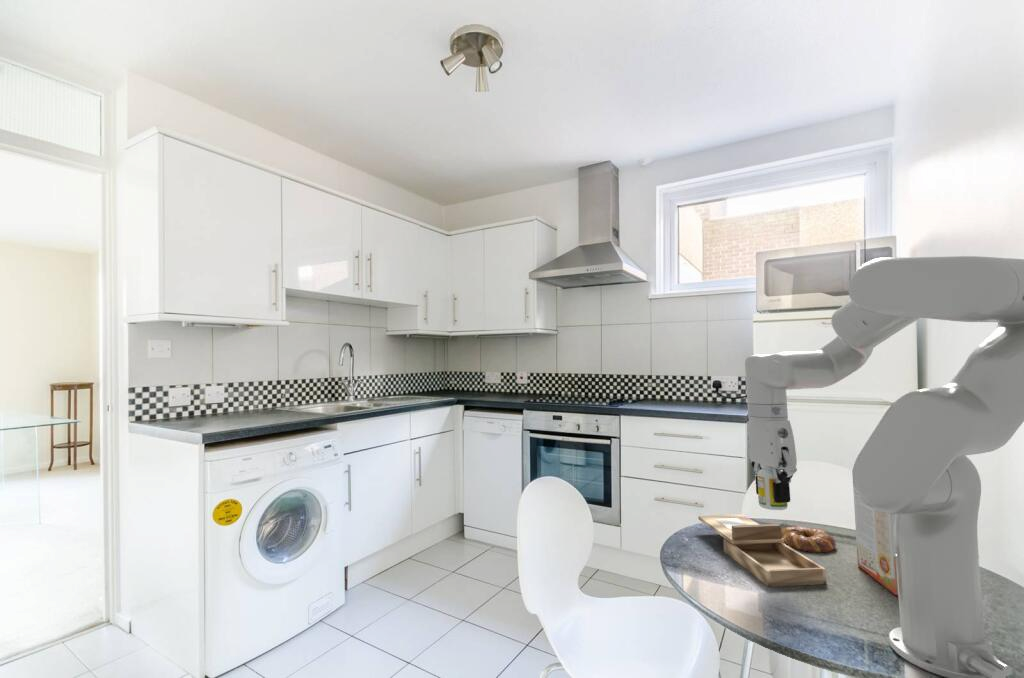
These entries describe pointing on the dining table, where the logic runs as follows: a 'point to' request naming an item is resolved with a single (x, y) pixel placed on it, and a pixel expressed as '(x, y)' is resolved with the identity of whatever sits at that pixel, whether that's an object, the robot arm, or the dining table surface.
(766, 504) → the supplement bottle
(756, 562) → the light wood shallow tray
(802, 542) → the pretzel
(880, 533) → the cracker box
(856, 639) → the dining table surface
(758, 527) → the lid
